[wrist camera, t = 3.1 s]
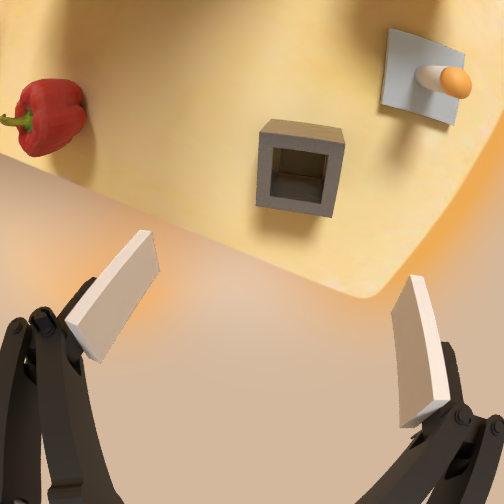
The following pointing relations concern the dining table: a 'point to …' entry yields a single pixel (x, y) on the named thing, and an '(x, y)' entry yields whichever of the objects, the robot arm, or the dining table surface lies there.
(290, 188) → the grey square socket box
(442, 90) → the keeper post
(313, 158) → the dining table surface
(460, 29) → the dining table surface
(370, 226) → the dining table surface
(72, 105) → the vegetable
